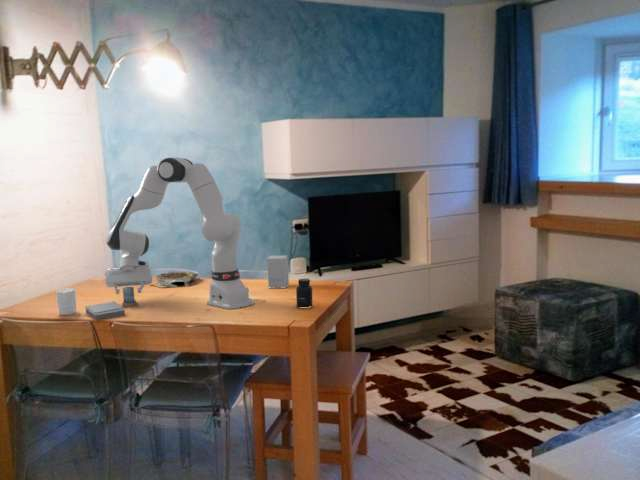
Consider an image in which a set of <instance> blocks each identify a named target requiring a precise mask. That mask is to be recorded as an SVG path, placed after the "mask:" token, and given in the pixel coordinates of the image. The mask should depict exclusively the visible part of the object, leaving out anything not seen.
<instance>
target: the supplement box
mask: <svg viewBox="0 0 640 480" xmlns="http://www.w3.org/2000/svg"><path fill="white" fill-rule="evenodd" d="M288 258H289V257H288V255H269V256H268V257H267V258H266V261H267V282H268V288H269V287H271V288H270V289H282V288H281V287H287V288H288V286H289V285H288V284H289V283H290V282H289V263H288V261H289V260H288ZM273 287H274V288H273Z"/></svg>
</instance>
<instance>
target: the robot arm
mask: <svg viewBox="0 0 640 480" xmlns="http://www.w3.org/2000/svg"><path fill="white" fill-rule="evenodd" d="M170 183H180V184H181V183H186V184H187V185H188V186H189V188H190V190H191V192H192V195H193V197H194V199H195V202H196V204H197V206H198V208H199V212H200V215H201V221H202V225H201V230H200V231H201V234H202V237H203V238H204V239H206V240H207V241H209V242H214V245H213V249H212V250H211V254H210V255H211V279H212V280H211V282H210V285H209V297H208V299H209V300H207V301H206V305H210V306H213V307H216V308H217V307H218V308H221V309H226V310H233V309H240V307H241V308H246V307H250V306H252V305H255V304H254V303H255V301H254V300H253V299H252V298H249V291H250V289H249V287H247V286H245V285H244V283H243V282H242V280H241V275H240V271H239V268H238V257H237V252H238V242H239V238H240V232H241V230H242V229H243V228H242V227H243V222H242V219H241V218H240V217H239V216H238V215H237V214H235V213H228V212H227V213H225V211H224V207H223V196H222V193H221V192H220V188H219V187H218V185H217V183H216V181H215V178H214V177H213V175H212V173H211V172H210V170H209V169H208V168H207V166H206V164H204V163H199V162H197V163H193V162H192V161H191V160H189V159H187V158H181V157H165V158H163V159H162V160H160V161H159V163H158V164H157V165H151V166H149V167H148V169H147V170H146V172H145V174H144V176H143V179H142V181H141V183H140V186H139V189H138V190H137V192H135V194H134V195H130V196H129V197H127V199H126V201H125V203H124V205H123V207H122V209H120V212H119V214H118V216H117V218H116V220H115V222H114V223H113V225H112V227H111V229H110V230H109V232H108V233H107V236H106V240H105V242H106V244H107V246H108V248H109V249H110V250H111V251H119V256H120V259H119V267H114V268H111V267H110V268H108V269H106V271H105V281H104V283H105V286H106V287H107V288H113V289H114V291H115V295H120V289H119V288H120V287H135V286H139V287H137V293H138V294H140V293H142V290H143V289H144V288H145V286H148V285H149V286H151V285H152V284H153V283H152V282H153V278H152V277H153V276H152V272H151V269H150V265H149V264H150V263H148V262H147V261H143V260H140V257H143V256H144V255H145V254H147V252H148V251H149V245H150V240H149V237H148V236H147V234H146V233H142V232H138V231H132V230H128V229H125V226H126V224H127V223H128V221H129V219H130V218H131V215H132V214H134V213H136V212H139V211H145V210H146V211H147V210H152V209H155V208H157V207H159V206H160V205H161V203H162V202H163V200H164V197H165V193H166V191H167V188H168V186H169V184H170ZM118 287H119V288H118ZM249 305H250V306H249ZM245 306H246V307H245Z"/></svg>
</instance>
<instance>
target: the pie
mask: <svg viewBox="0 0 640 480" xmlns="http://www.w3.org/2000/svg"><path fill="white" fill-rule="evenodd" d="M198 275H199V274H198V273H197V272H192V271H169V272H163V273H159V274H158V275H156V277H155V280H156V281H157V283H156V284H155V285H156V287H158V288H161V289H166V288H177V287H179V286H178V285H176V284H173V283H176V282H177V283H178V282H182V283H184V284H183V285H184V287H192V286H193V284H190V283H192V282H193V280H194V279H195V278H196V277H198ZM153 283H154V282H153V281H152V283H151V284H153ZM197 285H198V283H197V284H195V286H197Z"/></svg>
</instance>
